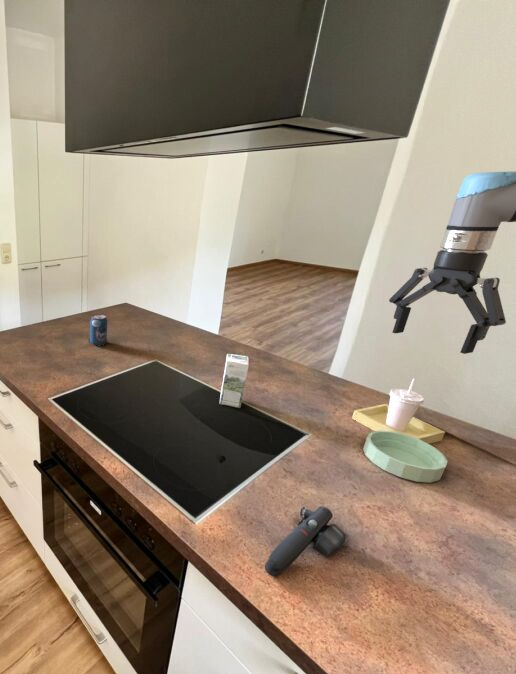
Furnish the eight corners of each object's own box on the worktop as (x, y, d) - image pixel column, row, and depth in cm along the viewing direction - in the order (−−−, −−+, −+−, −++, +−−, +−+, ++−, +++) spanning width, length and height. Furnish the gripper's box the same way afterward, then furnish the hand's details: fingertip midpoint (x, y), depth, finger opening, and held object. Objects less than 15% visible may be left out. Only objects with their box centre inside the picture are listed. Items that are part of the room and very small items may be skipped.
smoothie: (417, 431, 91) (437, 382, 86) (401, 437, 89) (421, 387, 84) (388, 417, 97) (405, 371, 92) (373, 423, 95) (389, 376, 90)
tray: (441, 440, 89) (445, 431, 88) (407, 449, 86) (411, 440, 85) (382, 411, 101) (385, 403, 100) (351, 418, 98) (354, 410, 97)
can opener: (308, 516, 68) (315, 493, 66) (349, 545, 63) (358, 521, 61) (246, 558, 61) (252, 533, 59) (287, 595, 55) (295, 570, 53)
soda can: (98, 348, 146) (99, 320, 142) (86, 343, 151) (86, 316, 147) (110, 343, 150) (110, 316, 146) (97, 339, 155) (98, 312, 151)
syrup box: (240, 399, 108) (248, 355, 103) (240, 409, 103) (249, 363, 98) (220, 395, 110) (227, 352, 105) (219, 405, 105) (226, 360, 100)
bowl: (455, 476, 77) (463, 461, 76) (411, 490, 74) (418, 474, 73) (389, 439, 89) (394, 426, 88) (349, 450, 86) (353, 436, 84)
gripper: (387, 245, 88) (363, 327, 95) (536, 259, 65) (489, 365, 73) (409, 243, 90) (384, 323, 97) (561, 257, 67) (513, 360, 75)
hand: (429, 341), depth 85 cm, fingers open, 13 cm apart
